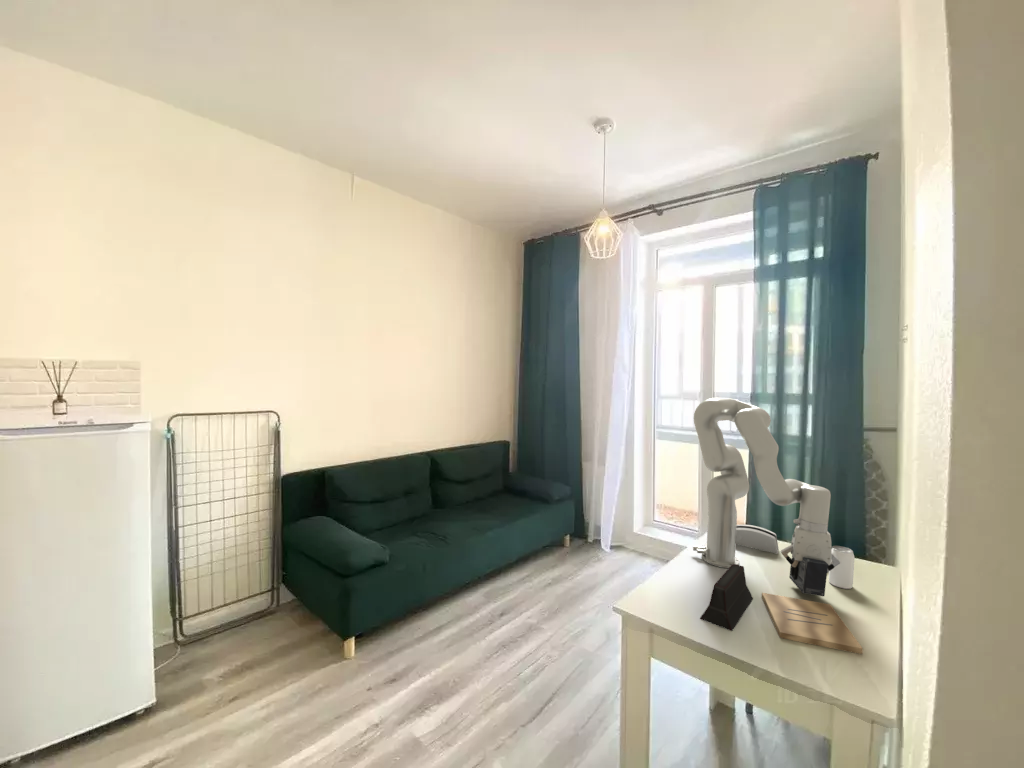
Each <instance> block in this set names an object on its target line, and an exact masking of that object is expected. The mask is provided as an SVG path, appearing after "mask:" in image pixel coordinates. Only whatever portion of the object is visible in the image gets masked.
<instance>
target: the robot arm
mask: <svg viewBox="0 0 1024 768" xmlns="http://www.w3.org/2000/svg"><path fill="white" fill-rule="evenodd" d="M720 421H729V422H732V423H734V424H735V427H736V428H737V430H738V432H739V433H740V435H741V437H742V439H743V440H744V443H745V445H746V447H747V448H748V450H749V452H750V454H751V455H752V458H753V465H754V470H755V471H754V472H755V475H756V478H757V480H758V482H759V484H760V485H761V488H762V490H763V491H764V493H765V494H766V496H767V497H768V499H769V500H770V501H771V502H772V503H773V504H775V505H777V506H781V507H785V506H789V505H792V504H797V503H798V504H800V505H799V506H800V507H799V514H798V515H799V516H798V518H794V519H793V524H796V525H795V528H794V532H793V534H792V537H791V542H790V543H791V544H790V545H788V546H787V547H785V548H783V549H780V554H781V555H782V556H783V557H784V558H785V559H786V561H787V562H788V563H789V564H790V568H789V570H790V571H789V576H790V575H791V576H792V577H793V579H794V580H797V572H798V568H797V564H798V563H799V562H800V561H801V562H802V560H803V557H805V558H811V559H816V560H821V561H825V562H826V563H827V564H828V569H827V574H829V571H830V570H832V569H833V568H834V567H836V566H837V565H839V564H840V561H839V560H838V559H837V558H836V557H835V556H834V555H833V554H832V553H831V549H832V537H831V536H832V535H831V533H830V532H829V531H828V527H829V517H830V515H829V514H830V507H831V497H832V496H831V490H829V489H828V488H825V487H824V486H819V485H813V484H809V483H806V482H803V481H800V480H799V479H798V480H797V479H794V478H786V479H785V478H784V476H783V475H782V472H781V471H780V469H779V466H778V461H777V460H778V454H779V448H780V447H779V445H778V443H777V441H776V440H775V437H773V435H772V433H771V431H770V430H769V427H770V425H771V421H772V420H771V416H770V414H769V413H768V411H766V410H765V409H763V408H762V407H758V406H756V405H753V404H750V403H747V402H744V401H741V400H738V399H735V398H731V397H712V398H708V399H705V400H703V401H702V402H701V403H699V404H698V405H697V406H696V408H695V410H694V412H693V424H694V427H695V431H696V434H697V437H698V441H699V442H698V443H699V446H700V450H701V456H702V458H703V462H704V466H705V467H706V469H708V471H711V472H714V473H718V472H719V473H720V475H717V476H715V477H712V478H711V479H710V480H709V482H708V483H707V486H706V493H707V494H706V495H707V506H708V507H707V509H708V512H707V532H706V533H707V534H706V535H707V536H706V543H705V544H704V545H702V546H700V545H693V546H692V550H693V551H695V552H696V553H697V554H701V559H702V560H703V561H704V562H705V563H708V564H709V565H711V566H715V567H719V568H723V569H729V567H730V566H731V565H732V564H737V565H740V559H738V558H737V557H736V545H737V544H736V527H737V525H738V511H737V505H736V500H738V499H739V500H740V499H741V498H744V497H745V496H747V494H748V493H749V490H750V483H749V478H748V474H747V471H746V466H745V463H744V460H743V457H742V454H741V452H740V451H739V450H738V448H737V447H735V446H733V445H732V444H726V442H725V440H724V435H723V432H722V429H721V427H720V426H719V424H718V423H719V422H720ZM789 553H790V554H791V557H790V555H788V554H789ZM792 555H793V557H792ZM831 559H832V562H831Z"/></svg>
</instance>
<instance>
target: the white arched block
mask: <svg viewBox="0 0 1024 768" xmlns="http://www.w3.org/2000/svg"><path fill="white" fill-rule="evenodd" d="M737 544H739V545H738V546H742V545H743V547H746V546H747V547H746V548H750V547H752V548H751V549H754V548H755V549H754V550H758V549H759V551H764V552H768V553H772V554H777V555H778V554H779V549H780V548H779V544H778V538H777V534H776V533H775V532H773V531H771V530H769V529H767V528H765V527H762V526H758V525H757V526H756V525H751V524H737V527H736V545H737Z"/></svg>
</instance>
